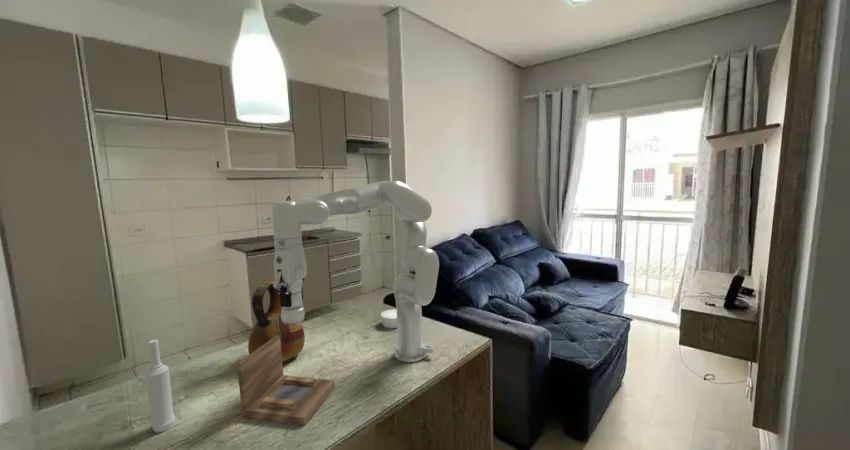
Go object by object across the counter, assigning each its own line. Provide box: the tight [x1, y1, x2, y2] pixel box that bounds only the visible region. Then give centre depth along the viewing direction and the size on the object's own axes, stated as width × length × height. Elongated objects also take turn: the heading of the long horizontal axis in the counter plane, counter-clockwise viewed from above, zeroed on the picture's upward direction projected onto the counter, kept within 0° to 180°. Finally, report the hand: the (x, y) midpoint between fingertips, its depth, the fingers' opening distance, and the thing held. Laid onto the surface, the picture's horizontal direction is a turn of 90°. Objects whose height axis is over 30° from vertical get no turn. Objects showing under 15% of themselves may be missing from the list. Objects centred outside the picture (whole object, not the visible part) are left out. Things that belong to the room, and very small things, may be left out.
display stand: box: [236, 335, 336, 427], centre depth 104 cm, size 20×18×16 cm
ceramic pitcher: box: [247, 279, 306, 363], centre depth 131 cm, size 20×20×30 cm
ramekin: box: [380, 308, 397, 329], centre depth 161 cm, size 11×11×5 cm
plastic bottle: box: [281, 271, 306, 325], centre depth 103 cm, size 6×7×20 cm
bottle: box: [144, 339, 176, 433], centre depth 94 cm, size 5×5×25 cm
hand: (292, 302), depth 103 cm, fingers closed on plastic bottle, 5 cm apart
